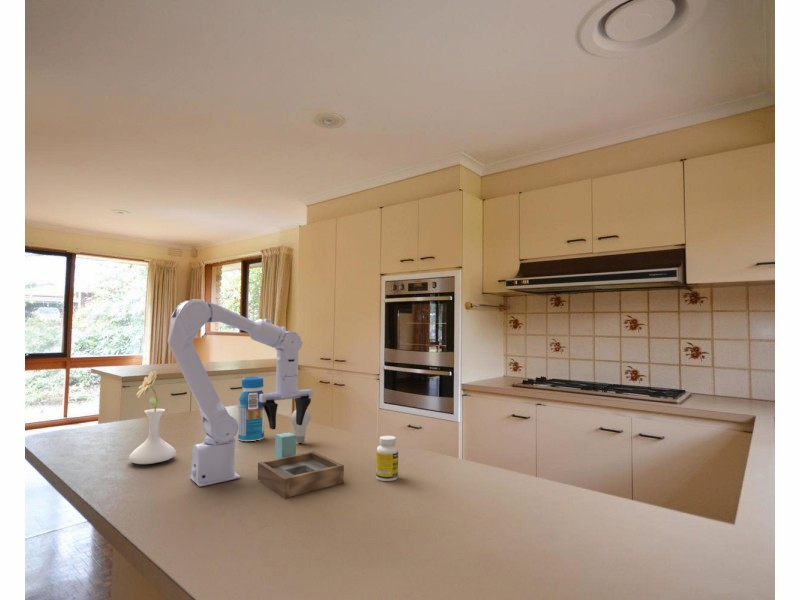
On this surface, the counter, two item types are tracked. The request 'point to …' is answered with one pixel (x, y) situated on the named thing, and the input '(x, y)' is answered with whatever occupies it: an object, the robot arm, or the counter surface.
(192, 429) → the counter surface
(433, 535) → the counter surface
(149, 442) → the flower in vase
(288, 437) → the peg
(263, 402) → the robot arm
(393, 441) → the supplement bottle
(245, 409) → the beverage bottle
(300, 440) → the lightbulb
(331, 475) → the bore box
